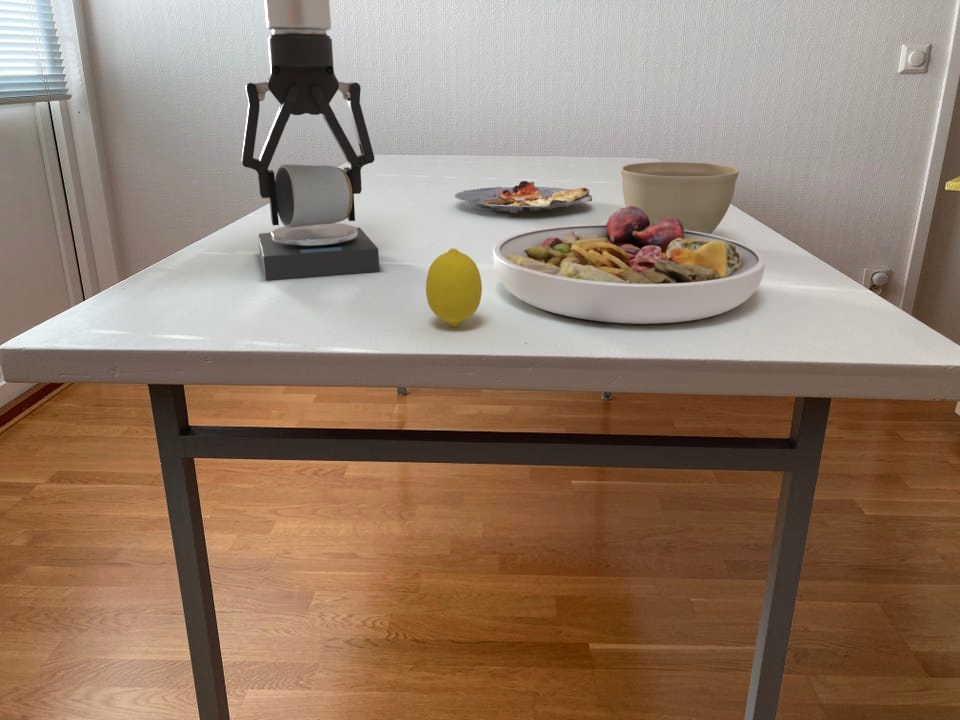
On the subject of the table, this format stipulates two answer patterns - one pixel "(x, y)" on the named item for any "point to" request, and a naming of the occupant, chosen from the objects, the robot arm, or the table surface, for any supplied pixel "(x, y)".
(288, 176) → the ceramic mug
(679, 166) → the planter bowl
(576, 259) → the bowl
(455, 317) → the lemon
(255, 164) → the robot arm
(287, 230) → the scale pan
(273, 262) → the scale
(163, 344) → the table surface
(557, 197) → the food plate
